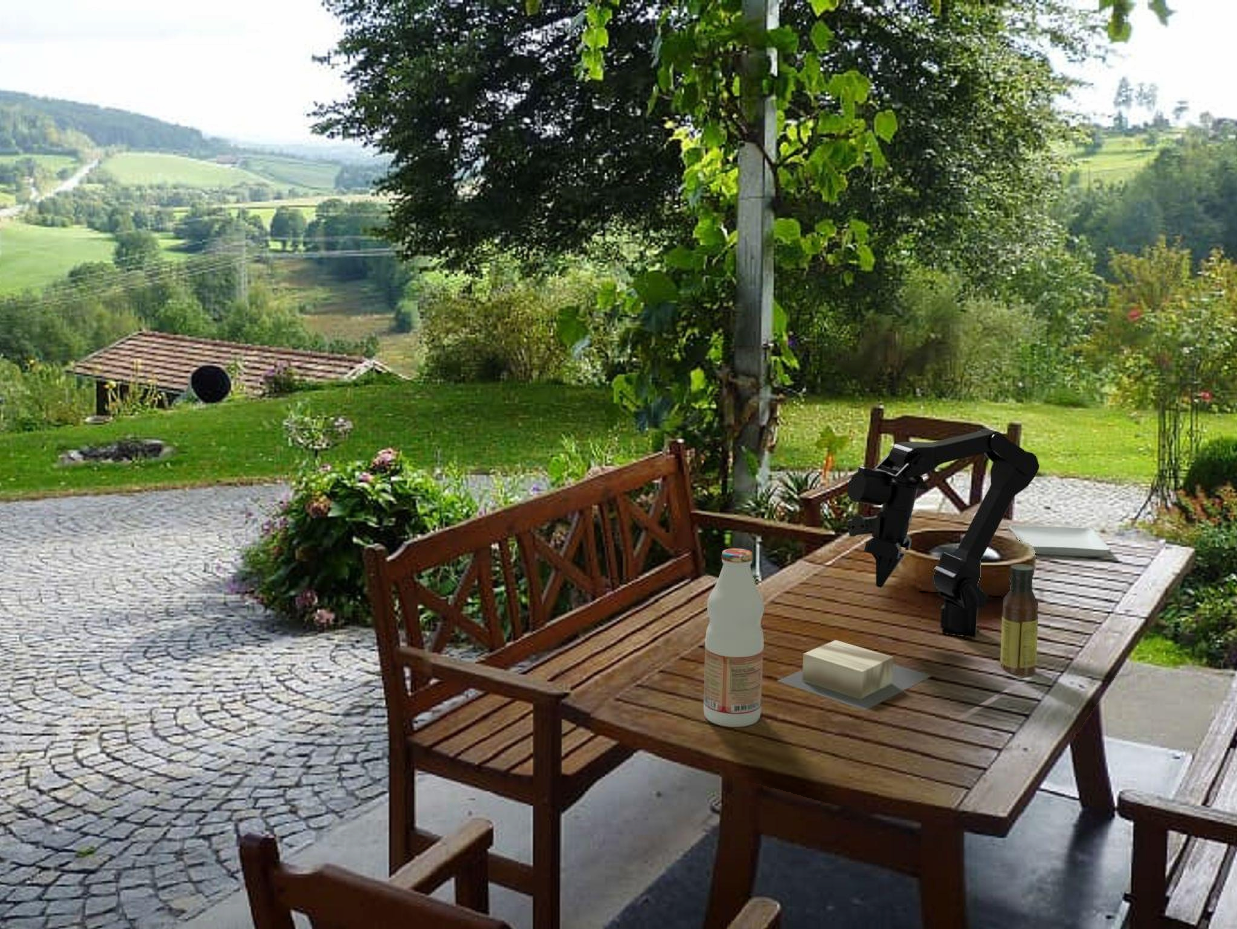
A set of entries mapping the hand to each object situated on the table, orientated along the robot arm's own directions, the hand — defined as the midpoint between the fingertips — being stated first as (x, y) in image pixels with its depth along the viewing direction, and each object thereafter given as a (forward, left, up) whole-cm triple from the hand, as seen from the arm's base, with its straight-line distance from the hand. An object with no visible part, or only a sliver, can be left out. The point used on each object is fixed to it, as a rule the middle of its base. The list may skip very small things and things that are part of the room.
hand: (878, 586), depth 226 cm
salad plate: (-35, -88, -12) cm, 96 cm away
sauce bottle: (-26, +7, -11) cm, 29 cm away
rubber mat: (+1, +22, -11) cm, 25 cm away
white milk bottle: (+18, +45, -11) cm, 49 cm away
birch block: (0, +20, -8) cm, 21 cm away
